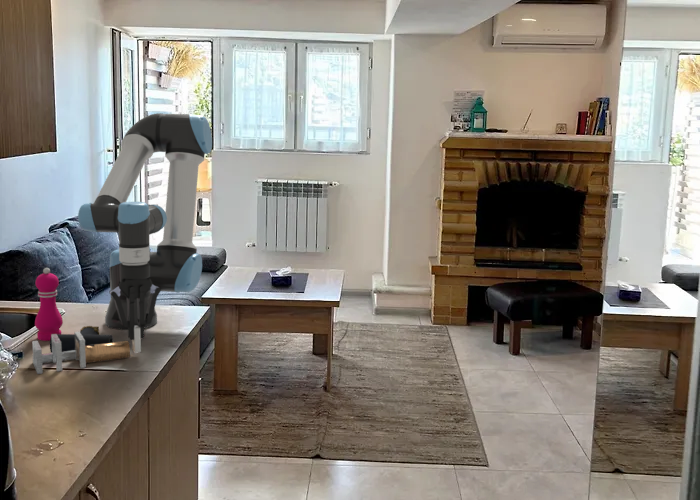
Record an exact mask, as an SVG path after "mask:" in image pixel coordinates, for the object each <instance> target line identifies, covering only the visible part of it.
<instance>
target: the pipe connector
mask: <svg viewBox="0 0 700 500" xmlns="http://www.w3.org/2000/svg"><path fill="white" fill-rule="evenodd" d="M99 329H100V328H99V326H92V325H87V326H82V328H81V329H80V331H79V332H80V333H81V335H82V336H83V338H84V339H85V346H87V345H91V344H94V345H96V344H105V343H113V342H114V337H113V335H112V334H101V333H100V330H99ZM57 336H58V338H59V339H60V341H61V349H62V352H63V351H72V350H75V335H74V333H72V334H67V333H66V334H64V333H61V334H57ZM49 350H50V353H52V336H51V339H50V341H49Z"/></svg>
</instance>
